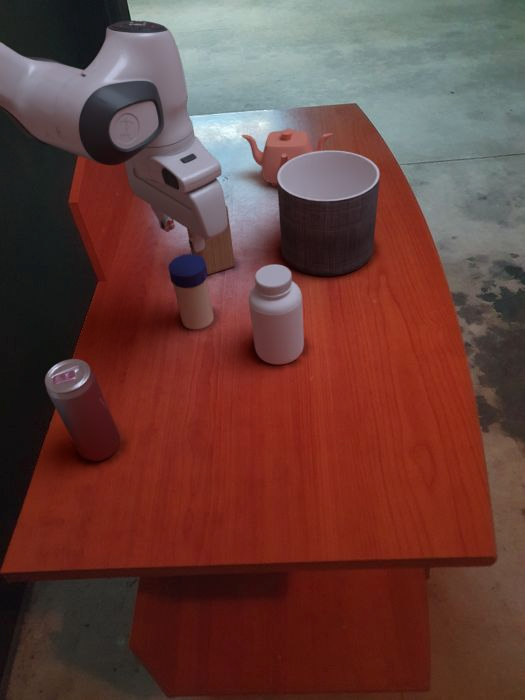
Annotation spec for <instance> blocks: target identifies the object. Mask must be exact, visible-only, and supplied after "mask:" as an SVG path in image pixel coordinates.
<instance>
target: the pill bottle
mask: <svg viewBox="0 0 525 700" xmlns="http://www.w3.org/2000/svg"><path fill="white" fill-rule="evenodd" d="M254 284H255V285H253V287H251V290H250V292H249V295H248V305H249V313H250V320H251V326H252V327H251V329H252V336H253V343H254V349H255V352H256V354H257V356H258V357H259V358H260V359H261V360H262V361H263V362H265V363H268V364H271V365H276V366H277V365H278V366H279V365H286V364H290V363H292V362H294V361H295V360H297V359H298V358H300V356H301V355H302V353H303V351H304V347H305V336H304V335H305V334H304V317H303V316H304V313H303V312H304V311H303V296H302V295H303V294H302V291H301V289H300V287H299V286H298V284H297V283H296V282H294V281H293V276H292V271H291V270H290V269H289V268H288V267H286V266H284V265H281V264H268V265H264V266H262V267H260V268H259V269H258V270H257V271H256V273H255V275H254Z"/></svg>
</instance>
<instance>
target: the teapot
mask: <svg viewBox="0 0 525 700" xmlns="http://www.w3.org/2000/svg"><path fill="white" fill-rule="evenodd" d="M333 135H334V132H328V133H323V134H322V135H321V136H320V138H319V140H318V143H317V147H316V149H315V150H314V149H313V145H312V142H311V139H310V135H309V133H308V132H307V131H305V130H293V129H292V128H291V127H290V128H289V127H288V128H286V129H283V130H277V131H271V132H269V133H268V134H267V137H266V140H265V143H264V148H263V151H262V150H260V149H259V147H258V145H257V142H256V140H255V138H254V137H253V136H252V135H248V134H241V137H242V138H243V139H244V140H246V141H247V142H248V144H249V146H250V150H251V154H252V157H253V160H254V161H255V163H257V165H259V166H260V167H261V175H262V177H263V179H264V180H265V182H267V183H269V184H271V186H272V187H278V185H277V174H278V171H279V169H280V168H281V167H282V166H283V165H284V164H285V163H286V162H288V161H289V160H291V159H293V158H295V157H297V156H300V155H303V154H306V153H311V152H317V151H325V150H324V149H325V144H326V143H327V142H326V141H327V140H328V139H329V138H330V137H331V136H333Z"/></svg>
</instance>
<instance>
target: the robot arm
mask: <svg viewBox="0 0 525 700" xmlns="http://www.w3.org/2000/svg"><path fill="white" fill-rule="evenodd" d="M188 96H189V95H188V88H187V81H186V76H185V70H184V65H183V62H182V57H181V54H180V51H179V48H178V44H177V41H176V39H175V37H174V35H173V33H172V31H171V30H170V29H169V28H167V27H166V26H165V25H163V24H160V23H158V22H157V23H156V22H152V21H146V20H122V21H121V20H120V21H117V22H114V23H112V24H110V25H108V26H107V27H106V29H105V39H104V41H103V44H102V46H101V48H100V50H99V52H98V53H97V55H96V56H95V58H94V59H93V60H92V61H91V63H90V64H89V65H88V66H87V67H85V69H81V68H77V67H74V66H69V65H67V64H65V63H62V62H60V61H57V60H54V59H52V58H46V57H38V56H37V57H36V56H25V55H22V54H19V53H18V52H17V51H15V50H13V49H12V48H10V47H9V46H7V45H6V44H4V43H3V42H1V41H0V109H1V110H2V112H4V114H5V115H6V116H7V117H8V118H9V119H10V120H11V122H12V123H13V124H14V125H15V126H16V128H17V129H18V130H19V131H20V132H21V133H22V134H23V135H24V136H26V137H27V138H29V139H30V140H31V141H34V142H36V143H39V144H43V145H47V146H50V147H54V148H56V149H57V148H58V149H60V150H62V151H65V152H67V153H70V154H73V155H74V156H78V157H81V158H83V159H86V160H88V161H91V162H94V163H97V164H101V165H104V166H118V165H121V164H123V163H124V166H125V167H124V168H125V171H126V177H127V182H128V185H129V189H130V190H131V192H132V193H133V195H134V196H136V197H138V198H139V199H140V200H142V201H144V202H146V203H147V204H148V205H149V206H150V208H151V210H152V212H153V213H154V215H155V217H156V219H157V220H158V224H159V228H160V229H161V230H163V231H165V232H166V233H168V232H170V231H173V230H174V229H175V227H176V226H175V222H176V223H178V224H180V225H181V226H183V227H184V228H186V230H187V229H189V230H190V233H191V234H193V236H192V238H190V239H189V238H188V244H189V248H190V250H191V249H193V250H194V251H196V252H199V251H201V250H203V249H204V248H205V243H204V240H210V239H212V238H214V237H216V236H218V235H219V234H221V233H223V232H224V231H225V229H226V227H227V212H226V206H227V204H226V199H225V194H224V190H223V187H222V184H221V182H220V181H219V179H218V178H219V177H221V176H222V174H223V173H222V166H221V163H220V161H219V160H218V159H217V158H216V157H215V156H214V155H213V154H212V153H211V152H210V151H209V150H208V149H207V148H206V147H205V146H204V144H203V143H202V142H201V140H200V139H199V138H198V137H197V136H196V134H195V130H194V124H193V121H192V119H191V117H190V115H189V111H188Z"/></svg>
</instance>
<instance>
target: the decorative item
mask: <svg viewBox="0 0 525 700" xmlns="http://www.w3.org/2000/svg"><path fill="white" fill-rule="evenodd" d="M226 212H227V227H226V229H225V231H224V232H223V233H221V234H219V235H218V236H216V237H214V238H212V239H210V240H204V243H205V248H204V249H203V250H201V251H199V252H196V251H194V250H193V249H191V248H190V252H191V254H195V255H199V256H201V257H202V258H203V259H204V260H205V263H206V268H207V274H208V276H209V275H212V274H215V273H218V272H221V271H225V270H227V269H231V268H233V267H234V266H235V255H234V247H233V239H232V233H231V232H232V231H231V224H230V217H229V208H228V206H227V205H226ZM186 231H187V237H188V239H190V238H192V236H193V234H191V233H190V230H189V229H187V228H186Z"/></svg>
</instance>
